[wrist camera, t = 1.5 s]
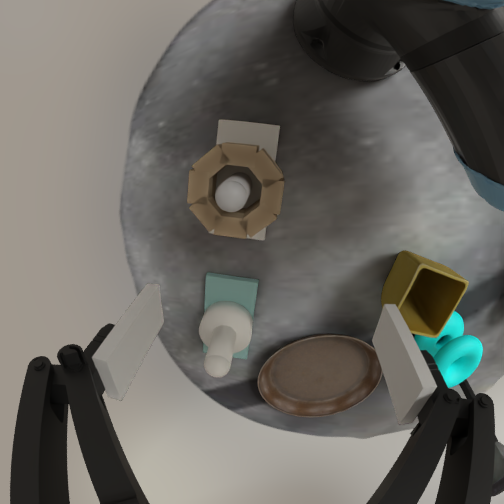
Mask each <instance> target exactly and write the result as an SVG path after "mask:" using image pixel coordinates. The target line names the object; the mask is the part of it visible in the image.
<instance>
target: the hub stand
mask: <svg viewBox="0 0 504 504" xmlns="http://www.w3.org/2000/svg"><path fill="white" fill-rule="evenodd" d="M258 281H259V280H258V279H251V278H244V277H237V276H230V275H223V274H216V273H210V272H207V274H206V285H205V307H204V315H203V318H202V320H201V323H200V326H199V335H200V338H201V340H202V341H203V353H207V354H206V357H205V361H204V368H205V370H206V372H207V373H208V374H209V375H210V376H212V377H217V378H218V377H223V376H225V375H226V374H227V373H228V372H229V370H230V367H231V362H232V357H234V358H240V359H247V355H248V348H249V343H250V341H251V335H252V327H253V315H254V309H255V302H256V295H257V288H258Z"/></svg>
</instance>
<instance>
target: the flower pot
mask: <svg viewBox="0 0 504 504" xmlns="http://www.w3.org/2000/svg"><path fill="white" fill-rule="evenodd" d="M468 283H469V282H468V281H467V280H466V279H464V278H463V277H461V276H460V275H459V274H457V273H456V272H454V271H453V270H451V269H450V268H448V267H446V266H444V265H442V264H440V263H437V262H434V261H431V260H429V259H426V258H424V257H421V256H419V255H416V254H414V253H411V252H409V251H401V252H400V253H399V254H398V256H397V258H396V260H395V262H394V265H393V267H392V269H391V271H390V273H389V275H388V277H387V279H386V281H385V284H384V286H383V290H382V295H381V304H382V308H383V306H384V304H396V306H397V308H398V310H399V311H400V313H401V315H402V317H403V319H404V321H405V322H406V324H407V326H408V328H409V330H410V332H411V333H412V334H417V335H421V336H426V337H430V338H437V337H438V336H439V334H440V333H441V332H442V330H443V329H444V327H445V325H446V324H447V322H448V320H449V319H450V317H451V315H452V314H453V312H454V310H455V308H456V307H457V305H458V303H459V302H460V300H461V298H462V296H463V295H464V293H465V291H466V289H467V286H468Z"/></svg>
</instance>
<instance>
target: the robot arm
mask: <svg viewBox="0 0 504 504" xmlns="http://www.w3.org/2000/svg"><path fill="white" fill-rule="evenodd" d="M293 25H294V30H295V33H296V36H297V38H298V40H299V42H300V44H301V46H302V47H303V49H304V50H305V51H306V52H307V54H308V55H309V56H310V57H311V58H312V59H313V60H314V61H316V62H317V63H318V64H319V65H321V66H322V67H324V68H325V69H327V70H328V71H330V72H332V73H334V74H336V75H339V76H341V77H344V78H347V79H351V80H357V81H376V80H381V79H384V78H387V77H389V76H391V75H393V74H395V73H397V72H399V71H400V70H402V69H403V68H404V67H405V66H407V68H408V69H409V70H410V72H411V74H412V75H413V77H414V78H415V80H416V81H417V83H418V84H419V86H420V87H421V89H422V90H423V92H424V94H425V95H426V97H427V99H428V100H429V102H430V104H431V105H432V107H433V109H434V111H435V112H436V114H437V116H438V118H439V120H440V122H441V123H442V125H443V127H444V129H445V131H446V133H447V135H448V137H449V139H450V141H451V143H452V145H453V149H454V153H455V156H456V157H457V159H458V161H459V162H460V163H461V164H462V165H463V167H464V169H465V171H466V173H467V175H468V177H469V180H470V182H471V184H472V186H473V188H474V189H475V191H476V192H477V193H478V194H479V196H481V197H482V198H484V199H485V200H486V201H487V202H488V203H489V204H490V205H492V206H493V207H495V208H497V209H499V210H501V211H504V0H297V1H296V4H295V8H294V14H293ZM163 323H164V318H163V311H162V303H161V295H160V286H159V285H158V284H150V283H147V285H146V286H145V287H144V288H143V290H142V291H141V292H140V293H139V295H138V296H137V297H136V299H135V300H134V301H133V303H132V304H131V305H130V306H129V308H128V309H127V310H126V312H125V313H124V314H123V316H122V317H121V318H120V320H119V321H118V322H117V324H116V325H113V324H107V325H106V326H105V327H103V328H101V330H100V331H99V332H98V333H97V336H95V337H94V339H93V341H91V342H90V344H89V345H88V346H87V348H86V349H85V350H84V352H83V350H82V348H81V347H80V346H78V345H75V344H71V345H67V346H64V347H63V348H61V349H60V350H59V352H58V354H57V358H58V360H59V362H60V364H61V365H52V364H51V362H50V360H49V359H48V358H47V357H44V356H40V357H36V358H34V359H33V360H32V361H31V362H30V363H29V365H28V369H27V373H26V376H25V380H24V385H23V389H22V394H21V398H20V403H19V409H18V414H17V421H16V427H15V434H14V442H13V451H12V462H11V483H10V504H70V501H69V490H68V475H67V418H68V404H69V405H70V409H71V414H72V418H73V422H74V426H75V430H76V434H77V437H78V441H79V445H80V448H81V451H82V454H83V458H84V461H85V464H86V466H87V470H88V472H89V475H90V478H91V481H92V483H93V486H94V489H95V491H96V493H97V496H98V498H99V501H100V504H149V502H148V500H147V499H146V497H145V495H144V493H143V491H142V489H141V487H140V485H139V483H138V481H137V479H136V477H135V475H134V473H133V471H132V469H131V467H130V465H129V463H128V461H127V458H126V456H125V454H124V452H123V449H122V447H121V445H120V442H119V440H118V437H117V435H116V432H115V430H114V427H113V424H112V422H111V419H110V416H109V414H108V411H107V408H106V405H105V402H104V399H103V397H102V394H103V393H104V391H106V393H107V395H108V397H110V398H113V399H117V400H119V401H122V400H123V398H124V396H125V394H126V392H127V390H128V388H129V386H130V384H131V382H132V381H133V379H134V377H135V375H136V373H137V371H138V369H139V367H140V365H141V364H142V362H143V360H144V358H145V356H146V354H147V352H148V351H149V349H150V347H151V345H152V343H153V341H154V340H155V338H156V336H157V334H158V332H159V331H160V329H161V327H162V325H163ZM372 342H373V345H374V347H375V350H376V353H377V356H378V359H379V362H380V365H381V368H382V371H383V374H384V377H385V380H386V383H387V386H388V390H389V393H390V396H391V399H392V403H393V406H394V410H395V413H396V416H397V420H398V424H399V425H401V424H409V423H412V422H413V421H414V420H415V418H416V417H417V416H418V419H419V423H418V424H417V426H416V427H415V428H414V429H413V431H412V432H411V437H410V438H409V440H408V442H407V444H406V446H405V447H404V449H403V451H402V452H401V454H400V456H399V457H398V459H397V461H396V462H395V464H394V465H393V467H392V468H391V470H390V471H389V473H388V474H387V476H386V477H385V479H384V480H383V482H382V483H381V485H380V486H379V488H378V489H377V490H376V492H375V493H374V494H373V496H372V497H371V498H370V500H369V501H368V502H367V504H417V503H418V501H419V499H420V497H421V496H422V494H423V492H424V490H425V488H426V487H427V485H428V483H429V481H430V479H431V477H432V475H433V473H434V471H435V469H436V467H437V464H438V462H439V460H440V458H441V456H442V453H443V451H444V449H445V446H446V444H447V448H446V454H445V461H444V466H443V471H442V477H441V481H440V486H439V490H438V494H437V498H436V502H435V504H490V501H491V493H492V485H493V474H494V458H495V419H494V404H493V401H492V399H491V398H490V397H489V396H488V395H486V394H484V393H479V394H477V395H476V396H475V397H474V398H473V400H470V399H462V398H461V397H460V395H459V394H458V392H456V391H455V390H453V389H448V387H447V385H446V382H445V380H444V378H443V376H442V374H441V372H440V370H438V369H439V368H438V366H437V364H436V362H435V360H434V358H433V356H432V355H431V354H430V353H429V352H428V351H427V350H420V349H419V347H418V345H417V343H416V341H415V340H414V338H413V336H412V334H411V332H410V330H409V328H408V326H407V324H406V322H405V321H404V319H403V317H402V315H401V313H400V311H399V310H398V308H397V306H396V304H384V306H383V309H382V313H381V316H380V319H379V322H378V325H377V327H376V330H375V333H374V336H373V339H372Z"/></svg>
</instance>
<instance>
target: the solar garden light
mask: <svg viewBox="0 0 504 504" xmlns="http://www.w3.org/2000/svg"><path fill="white" fill-rule="evenodd" d="M459 385H460V387H461V388H462V390H463V392H464V394H465V396H466V398H467V399H470V400H473V398H474V397H475V394H474V392H473V390H472V388H471V387H470V385H469V383H468V381H467V380H466V379H465V380H464V381H463V382H461V383H459ZM503 491H504V445H503V444H501V443H500V442H498V440H497V438H496V436H495V458H494V474H493V485H492V493H491V496H496V495H498V494H500V493H501V492H503Z"/></svg>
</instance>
